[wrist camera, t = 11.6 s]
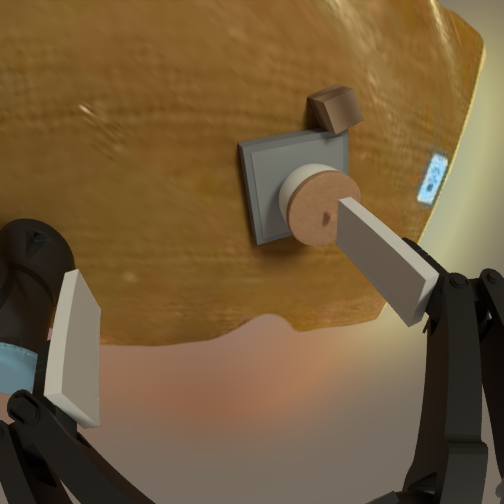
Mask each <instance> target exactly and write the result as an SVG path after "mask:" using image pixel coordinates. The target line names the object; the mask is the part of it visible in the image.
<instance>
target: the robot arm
mask: <svg viewBox="0 0 504 504" xmlns="http://www.w3.org/2000/svg"><path fill="white" fill-rule="evenodd" d="M336 244H337V245H338V246H339V247H340V249H341V250H342V251H343V252H344V253H345V254H346V255H347V256H348V257H349V258H350V260H351V261H352V262H353V263H354V264H355V265H356V266H357V267H358V269H359V270H360V271H361V272H362V273H363V274H364V275H365V276H366V278H367V279H368V280H369V281H370V282H371V283H372V285H373V286H374V287H375V288H376V289H377V290H378V291H379V293H380V294H381V295H382V296H383V297H384V298H385V300H386V301H387V302H388V303H389V304H390V305H391V307H392V308H393V309H394V310H395V312H396V313H397V314H398V315H399V316H400V318H401V319H402V320H403V321H404V322H405V323H406V325H407V326H408V327H410V326H412V325H414V324H416V323H418V322H420V321H421V320H422V317H423V315H424V313H425V312H426V313H427V314H428V315H429V318H428V320H427V323H426V325H425V327H424V329H423V333H425V332H426V330H427V356H426V372H425V373H426V374H425V385H424V395H423V404H422V412H421V420H420V427H419V433H418V439H417V445H416V450H415V456H414V460H413V463H412V465H411V467H410V469H409V471H408V473H407V475H406V478H405V482H404V486H403V489H402V491H400V492H394V491H392V492H390V493H388V494H386V495H383V496H381V497H379V498H377V499H374V500H372V501H370V502H368V503H366V504H481V502H482V497H483V491H484V485H485V478H486V470H487V461H488V447H487V445H486V444H485V443H484V442H482V440H481V422H482V385H483V389H484V393H485V397H486V402H487V407H488V411H489V416H490V422H491V427H492V434H493V440H494V447H495V454H496V459H497V465H498V469H499V472H500V476H501V478H502V481H501V483H500V484H499V485H498V486H497V488H496V495H497V497H499V498H501V501H500V504H504V278H503V277H502V276H501V275H500V273H498V272H497V271H496V270H493V269H489V268H487V269H484V270H483V271H482V272H481V274H480V277H479V278H475V279H467V278H466V277H465V276H463V275H462V274H459V273H448V272H447V271H446V270H445V269H444V268H443V267H442V266H440V264H438V263H437V262H436V261H435V260H434V259H433V258H432V257H431V256H430V255H428V253H426V252H425V251H424V250H422V248H421V247H420V246H419V245H417V244H416V243H415V242H413V241H411V240H409V239H407V238H402V239H401V238H400V237H398V236H397V235H396V234H395V233H394V232H393V231H392V230H390V229H389V228H388V227H387V226H386V225H385V224H383V223H382V222H381V221H380V220H379V219H377V218H376V217H375V216H374V215H373V214H371V213H370V212H369V211H368V210H367V209H365V208H364V207H363V206H362V205H360V204H359V203H358V202H357V201H355V200H354V199H353V198H352V197H348V198H344V199H339V200H338V219H337V235H336ZM57 303H58V305H57V310H56V315H55V320H54V325H53V331H52V337H51V340H48V341H47V337H48V332H49V327H50V322H51V317H52V312H53V308H54V307H55V306H56V304H57ZM489 313H490V314H491V316H492V318H491V319H490V317H489ZM100 315H101V309H100V307H99V306H98V304H97V302H96V300H95V299H94V297H93V295H92V293H91V291H90V290H89V288H88V286H87V284H86V282H85V280H84V278H83V277H82V275H81V273H80V271H79V269H77V270H74V259H73V255H72V252H71V250H70V247H69V246H68V244H67V242H66V241H65V240H64V238H63V237H62V236H61V235H60V234H59V233H58V232H57V231H56V230H55V229H53V228H52V227H51V226H49V225H47V224H45V223H43V222H41V221H38V220H34V219H18V220H14V221H12V222H10V223H8V224H7V225H5V226H4V227H3V228H2V230H1V231H0V393H2V394H8V395H12V396H11V397H10V399H9V401H8V404H7V412H8V415H9V417H11V418H12V419H13V420H15V422H13V423H11V424H9V425H8V424H6V423H5V422H4V421H2V420H0V482H1V485H2V488H3V490H4V493H5V496H6V498H7V501H8V503H9V504H73V503H72V501H71V500H70V498H69V496H68V494H67V493H66V491H65V489H64V487H63V485H62V483H61V481H62V482H63V483H64V484H65V486H66V487H67V488H68V489H69V490H70V492H71V493H72V494H73V495H74V496H75V497H76V499H77V500H78V501H79V502H80V503H81V504H155V503H154V502H153V501H152V500H150V499H149V498H148V497H146V496H145V495H144V494H143V493H142V492H140V491H139V490H138V489H137V488H136V487H134V486H133V485H132V484H131V483H130V482H129V481H128V480H126V479H125V478H124V477H123V476H122V475H121V474H120V473H119V472H118V471H117V470H115V469H114V468H113V467H112V466H111V465H110V464H109V463H108V462H107V461H106V460H105V459H104V458H103V457H102V456H101V455H100V454H99V453H98V452H97V451H96V450H95V449H94V448H93V447H92V446H91V445H90V444H89V443H88V441H87V440H86V439H85V438H84V437H83V436H82V435H81V434H80V433H79V432H77V423H78V424H79V425H80V426H82V427H83V428H84V429H85V428H93V427H100V413H99V382H98V381H99V333H100ZM32 390H33V393H32V394H31V393H30V391H32ZM59 478H60V479H59ZM60 480H61V481H60Z"/></svg>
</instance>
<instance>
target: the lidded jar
mask: <svg viewBox="0 0 504 504" xmlns="http://www.w3.org/2000/svg"><path fill="white" fill-rule="evenodd" d="M348 197H352V198H353V199H354V200H355V201H357V202H358V203H359V204H360V205H361V194H360V190H359V188H358V186H357V184H356V183H355V181H354V180H353V179H352V178H350V177H349V176H348V175H346V174H344V173H342V172H340V171H339V170H337V169H335V168H333V167H331V166H328V165H324V164H318V163H315V164H306V165H303V166H301V167H299V168H297V169H295V170H294V171H292V172H291V173H290V174H289V175H288V176H287V178H286V179H285V180H284V182H283V184H282V186H281V189H280V193H279V207H280V211H281V215H282V217H283V219H284V221H285V223H286V224H287V226H288V227H289V230H290V231H291V233H292V234H293V236H294V237H295V238H296V239H297V240H298V241H300V242H301V243H303V244H306V245H309V246H323V245H327V244H330V243H332V242H334V241H336V235H337V219H338V200H339V199H344V198H348Z"/></svg>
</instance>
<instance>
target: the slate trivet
mask: <svg viewBox="0 0 504 504" xmlns="http://www.w3.org/2000/svg"><path fill="white" fill-rule="evenodd" d="M238 147H239V153H240V159H241V165H242V171H243V178H244V184H245V190H246V196H247V202H248V208H249V215H250V221H251V227H252V233H253V238H254V239H255V241H256V243H257V245H260V244H264V243H267V242H271V241H274V240H278V239H281V238H285V237H288V236H292V235H293V234H292V233H291V231H290V230H289V227H288V226H287V224H286V223H285V221H284V219H283V217H282V215H281V211H280V207H279V193H280V189H281V186H282V184H283V182H284V180H285V179H286V178H287V176H288V175H289V174H290V173H291V172H292V171H294V170H295V169H297V168H299V167H301V166H303V165H306V164H315V163H318V164H324V165H328V166H331V167H333V168H335V169H337V170H339V171H340V172H342V173H344V174H346V175H348V129H346V130H344V131H342V132H340V133H338V134H334V133H332V132H330V131H328V130H326V129H324V128H321V127H320V128H314V129H307V130H301V131H295V132H290V133H284V134H279V135H273V136H268V137H263V138H258V139H253V140H249V141H244V142H239V143H238Z"/></svg>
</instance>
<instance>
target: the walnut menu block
mask: <svg viewBox="0 0 504 504" xmlns="http://www.w3.org/2000/svg"><path fill="white" fill-rule="evenodd" d="M307 98H308V100H309V103H310V105H311V108H312V110H313V112H314V115H315V117H316V120H317V122H318V125H319V127H321V128H324V129H326V130H328V131H330V132H332V133H334V134H338V133H340V132H342V131H344V130H346V129H348V128H350V127H352V126H354V125H356V124H357V123H359V122H361V121H363V120H364V119H363V116H362V113H361V110H360V106H359V103H358V100H357V97H356V94H355V91H354V89H353V88H348V87H344V86H340V85H336V84H335V85H333V86H330V87H328V88H326V89H324V90H322V91H319V92H317V93H315V94H313V95H311V96H309V97H307Z"/></svg>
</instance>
